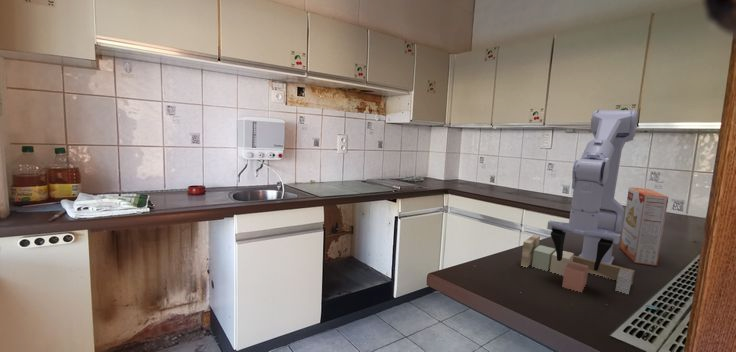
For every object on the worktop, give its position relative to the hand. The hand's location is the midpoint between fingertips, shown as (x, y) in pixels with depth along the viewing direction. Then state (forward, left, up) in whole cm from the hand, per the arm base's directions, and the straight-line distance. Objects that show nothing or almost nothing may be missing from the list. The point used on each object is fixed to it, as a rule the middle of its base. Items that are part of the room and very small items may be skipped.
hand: (577, 264), depth 81 cm
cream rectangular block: (-8, -4, -6) cm, 10 cm away
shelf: (-8, -1, -6) cm, 10 cm away
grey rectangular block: (-8, +9, -6) cm, 13 cm away
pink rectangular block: (0, 0, -6) cm, 6 cm away
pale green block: (-8, -9, -6) cm, 13 cm away
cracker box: (-39, +10, -6) cm, 40 cm away
